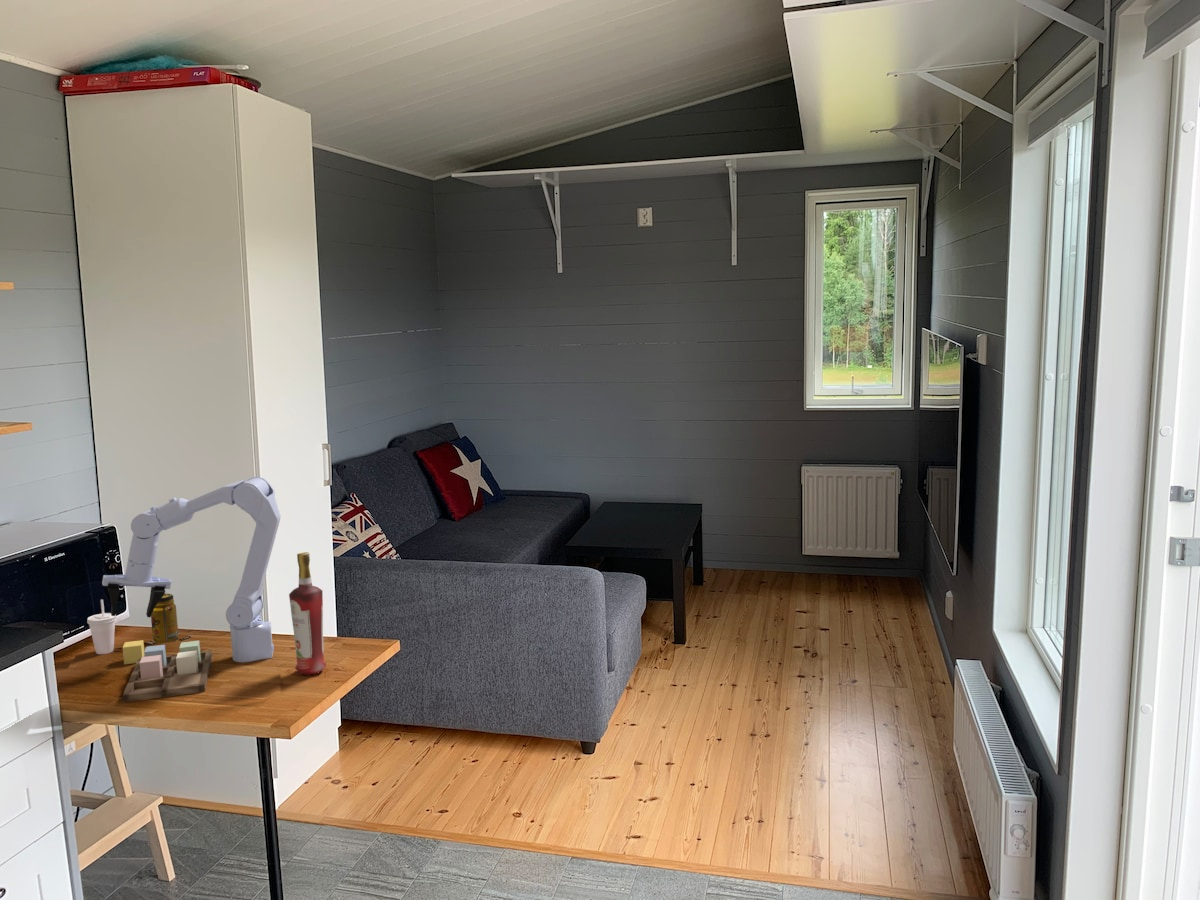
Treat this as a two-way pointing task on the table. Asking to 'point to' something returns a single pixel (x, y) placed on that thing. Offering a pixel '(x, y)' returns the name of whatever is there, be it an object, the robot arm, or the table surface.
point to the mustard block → (133, 651)
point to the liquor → (307, 620)
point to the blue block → (156, 652)
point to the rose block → (151, 667)
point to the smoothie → (102, 631)
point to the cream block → (187, 662)
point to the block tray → (168, 680)
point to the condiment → (164, 621)
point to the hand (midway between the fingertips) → (130, 615)
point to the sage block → (191, 648)
